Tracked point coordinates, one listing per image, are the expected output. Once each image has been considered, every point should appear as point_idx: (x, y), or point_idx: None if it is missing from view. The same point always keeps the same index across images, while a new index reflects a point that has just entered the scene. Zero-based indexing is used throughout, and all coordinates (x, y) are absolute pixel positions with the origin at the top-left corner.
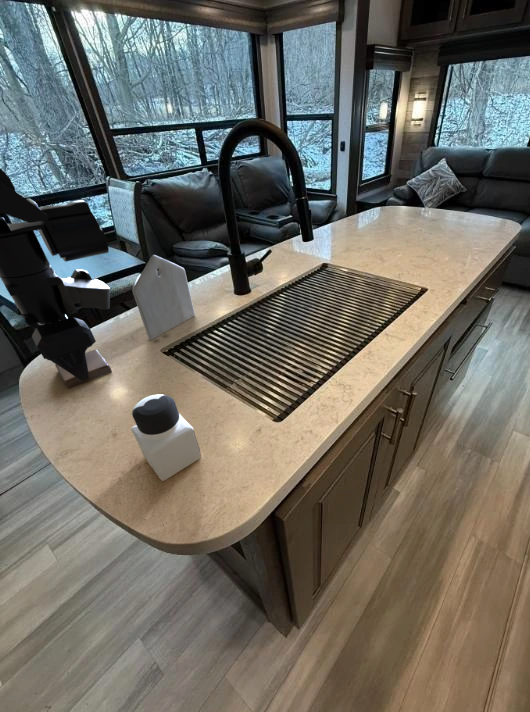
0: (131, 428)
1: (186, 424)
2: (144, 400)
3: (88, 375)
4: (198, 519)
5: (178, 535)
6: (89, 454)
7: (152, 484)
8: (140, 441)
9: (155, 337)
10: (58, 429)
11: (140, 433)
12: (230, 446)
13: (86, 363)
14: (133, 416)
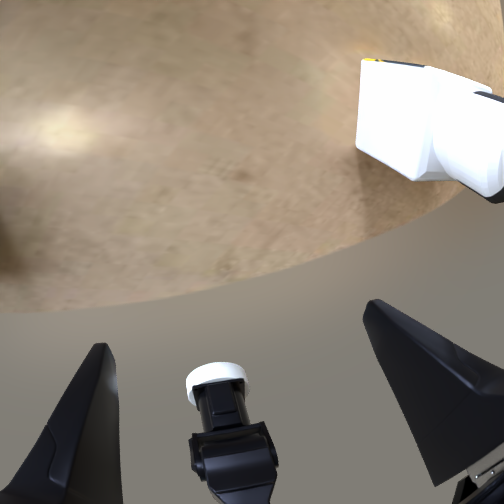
0: (413, 180)
1: (484, 91)
2: (501, 166)
3: (391, 307)
4: None
5: None
6: (263, 232)
7: None
8: (450, 180)
9: None
10: (137, 275)
11: (443, 173)
12: (438, 25)
13: (447, 340)
14: (496, 203)
